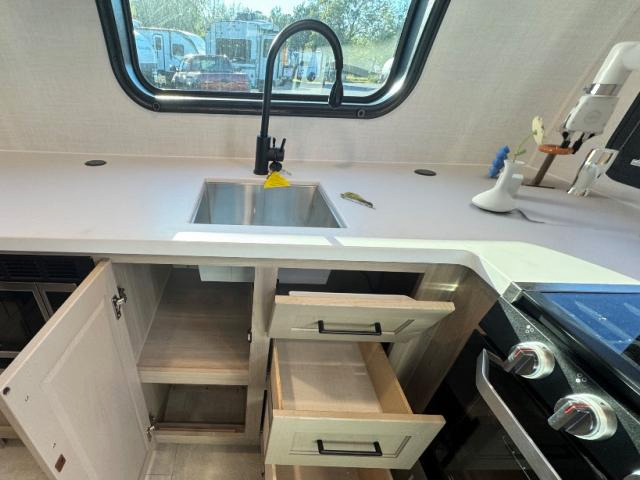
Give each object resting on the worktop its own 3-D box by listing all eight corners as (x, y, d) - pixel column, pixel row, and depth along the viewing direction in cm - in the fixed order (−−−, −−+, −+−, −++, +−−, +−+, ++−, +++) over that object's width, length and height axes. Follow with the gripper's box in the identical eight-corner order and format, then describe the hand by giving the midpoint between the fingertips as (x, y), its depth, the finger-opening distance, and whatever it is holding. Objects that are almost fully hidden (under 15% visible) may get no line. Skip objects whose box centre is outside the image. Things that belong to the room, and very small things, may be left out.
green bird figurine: (369, 208, 96) (371, 201, 94) (337, 197, 105) (338, 191, 104) (378, 206, 97) (380, 199, 96) (346, 195, 107) (347, 189, 105)
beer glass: (593, 200, 107) (626, 152, 98) (570, 198, 108) (601, 151, 99) (578, 193, 113) (608, 148, 104) (557, 192, 114) (585, 147, 105)
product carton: (511, 196, 108) (523, 174, 104) (512, 201, 104) (524, 178, 100) (490, 193, 111) (501, 171, 106) (490, 197, 107) (501, 175, 102)
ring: (564, 151, 115) (568, 145, 114) (576, 156, 108) (580, 150, 107) (533, 148, 118) (536, 142, 116) (542, 153, 110) (546, 147, 109)
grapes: (500, 182, 122) (517, 148, 115) (480, 178, 126) (495, 146, 119) (507, 177, 129) (523, 145, 122) (488, 173, 133) (503, 142, 126)
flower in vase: (508, 218, 92) (563, 120, 77) (465, 208, 98) (507, 115, 83) (516, 207, 99) (567, 116, 84) (475, 198, 106) (516, 112, 91)
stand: (544, 184, 122) (564, 150, 115) (553, 190, 115) (575, 154, 108) (516, 181, 124) (534, 147, 117) (524, 187, 118) (543, 152, 110)
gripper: (577, 90, 100) (543, 153, 111) (642, 93, 96) (599, 157, 107) (567, 89, 106) (535, 149, 117) (628, 92, 101) (589, 153, 112)
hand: (566, 152), depth 112 cm, fingers closed on ring, 2 cm apart
